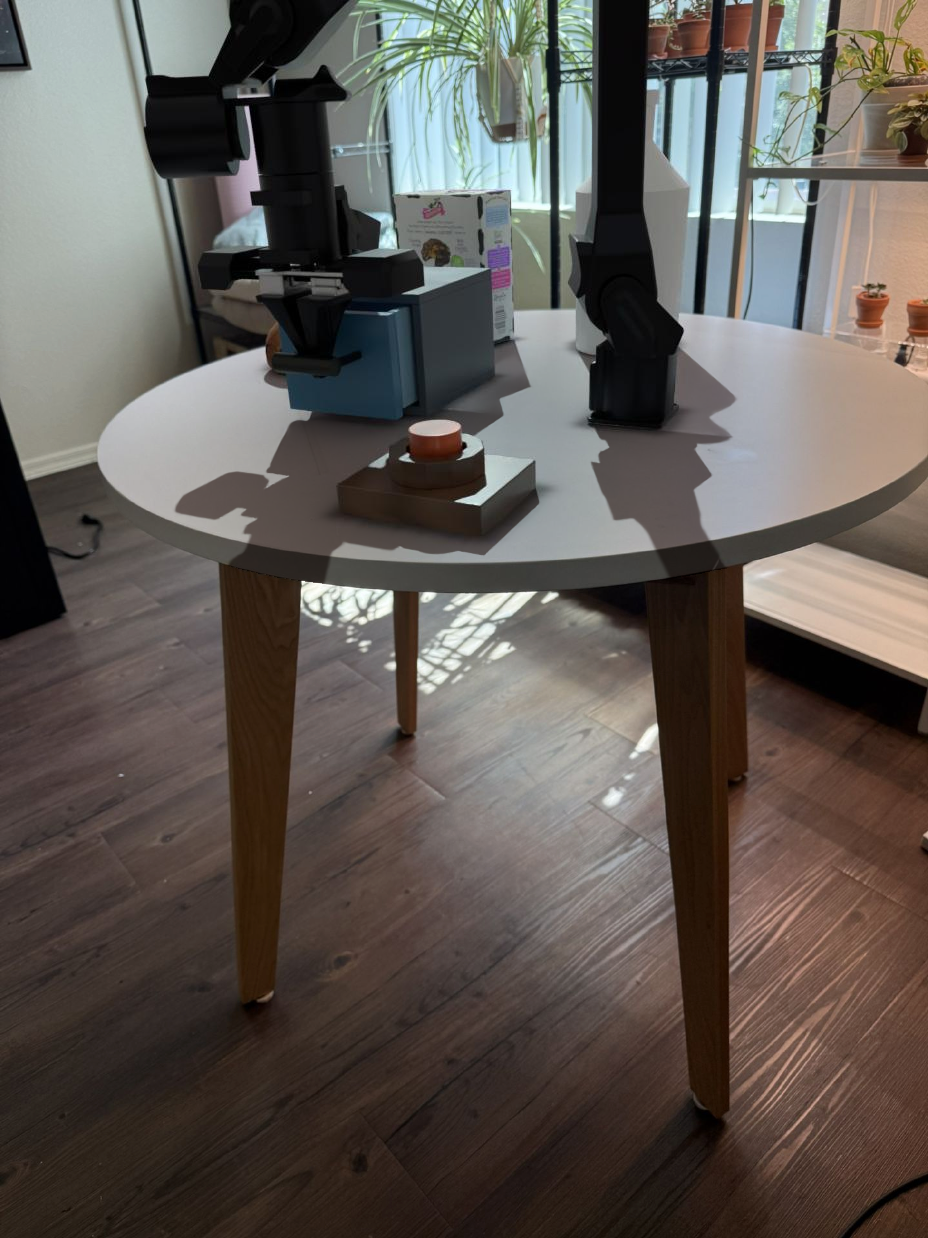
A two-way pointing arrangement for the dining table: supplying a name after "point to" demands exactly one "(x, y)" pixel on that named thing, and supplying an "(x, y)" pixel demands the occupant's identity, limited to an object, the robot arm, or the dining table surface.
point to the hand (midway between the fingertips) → (320, 377)
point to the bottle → (664, 225)
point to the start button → (435, 438)
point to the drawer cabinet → (449, 334)
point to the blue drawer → (357, 365)
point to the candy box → (463, 238)
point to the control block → (439, 488)
